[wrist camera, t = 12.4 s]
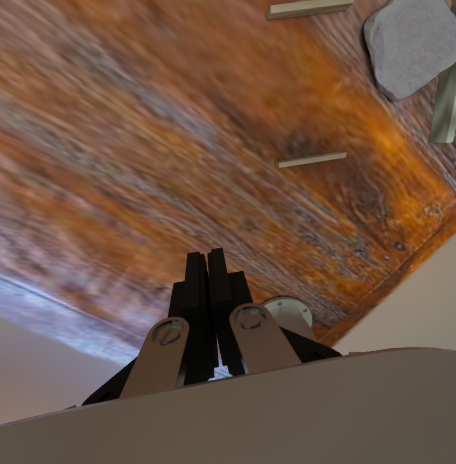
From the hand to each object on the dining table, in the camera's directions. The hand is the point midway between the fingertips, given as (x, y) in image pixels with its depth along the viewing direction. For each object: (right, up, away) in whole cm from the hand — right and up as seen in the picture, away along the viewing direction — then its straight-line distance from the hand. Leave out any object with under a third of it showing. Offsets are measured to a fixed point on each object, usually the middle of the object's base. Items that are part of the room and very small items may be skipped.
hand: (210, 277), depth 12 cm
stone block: (+24, +27, +22) cm, 42 cm away
